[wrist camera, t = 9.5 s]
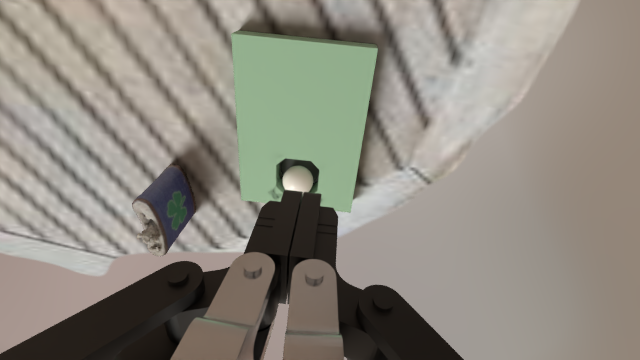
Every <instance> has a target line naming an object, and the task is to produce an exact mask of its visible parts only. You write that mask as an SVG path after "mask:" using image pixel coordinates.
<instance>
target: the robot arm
mask: <svg viewBox="0 0 640 360" xmlns="http://www.w3.org/2000/svg"><path fill="white" fill-rule="evenodd" d="M321 195H322V194H319V193H311V192H304V193H303V192H301V191H292V190H284V192H283V195H282V199H281V202H279V201H269V202H268V203H267V204H265V205H264V206H263V207H262V208H261V211H260V213H259V216H258V219H257V221H256V224H255V226H254V229H253V231H252V234H251V237H250V239H249V242H248V244H247V247H246V249H245V252H244V254H243V255H241V256H239V257H238V258H237V259H236V260H235V261H234V262H233V263H232V265H231V266H230V267H228V268H225V269H221V270H215V271H208V272H203V271H202V269H201V267H200V266H199V265H198V264H196V263H193V262H189V261H180V262H175V263H172V264H170V265H168V266H166V267H164V268H162V269H160V270H158V271H156V272H154V273H152V274H150V275H149V276H147V277H145V278H143V279H141V280H139V281H137V282H135V283H134V284H131V285H130V286H128V287H126V288H124V289H122V290H120V291H118V292H116V293H114V294H113V295H111V296H109V297H107V298H105V299H103V300H101V301H99V302H97V303H96V304H94V305H92V306H90V307H88V308H86V309H85V310H82V311H80V312H79V313H77V314H75V315H73V316H71V317H69V318H67V319H65V320H63V321H62V322H60V323H58V324H56V325H54V326H52V327H50V328H48V329H47V330H44V331H43V332H41V333H39V334H37V335H35V336H33V337H31V338H30V339H28V340H26V341H24V342H22V343H20V344H18V345H17V346H14V347H12V348H10V349H9V350H7V351H5V352H3V353H1V354H0V360H263V359H264V356H265V352H266V349H267V346H268V343H269V339H270V336H271V333H272V329H273V326H274V319H275V316H276V313H277V308H278V304H279V303H283V304H286V299H287V294H288V304H289V310H288V320H287V329H286V333H285V343H284V352H283V360H344V357H346V358H347V360H464V359H463V358H462V357H461V356H460V355H458V353H457V352H455V350H454V349H453V348H452V347H451V346H450V345H449V344H448V343H447V342H446V341H445V340H444V339H443V338H442V337H441V336H440V335H439V334H438V333H437V332H436V331H435V330H434V329H433V328H432V327H431V326H430V325H429V324H428V323H427V322H426V321H425V320H424V319H423V318H422V317H421V316H420V315H419V314H418V313H417V312H416V311H415V310H414V309H413V308H412V307H411V306H410V305H409V304H408V303H407V302H406V301H405V300H404V299H403V298H402V297H401V296H400V295H399V294H398V293H397V292H396V291H394V290H393V289H391V288H389V287H387V286H383V285H372V286H369V287H366V288H365V289H364V290H362V289H359V288H357V287H354V286H352V285H350V284H348V283H347V282H345V281H344V280H343V279H342V278H341V277H340V276H339V274H338V272H337V270H336V247H337V226H338V215H337V214H336V212H335V210H334V208H332V207H323V206H320V205H321Z"/></svg>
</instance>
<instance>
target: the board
mask: <svg viewBox="0 0 640 360" xmlns="http://www.w3.org/2000/svg"><path fill="white" fill-rule="evenodd" d="M231 35H232V51H233V68H234V85H235V101H236V118H237V134H238V151H239V168H240V184H241V200H245V201H254V202H262V203H268V202H269V201H279V202H281V199H282V195H283V192H284V190H285V188H284V186H283V180H282V179H281V178H280V177H279V176H280V162H281V161H282V162H281V172H282V175H283V176H284V173H285V172H286V171H287V170H288V169H289V168H290V167H293V166H303V167H305V168H307V169H308V170H309V171H310V172H311V174H312V176H313V181H314V180H315V179H316V178H317V176H318V173H319V179H318V182H317V183H315V184H314V185H312V188H311V189H310V191H309V192H311V193H319V194H322V195H321V205H320V206H323V207H332V208H334V210H335V211H341V212H351V206H352V200H353V194H354V188H355V182H356V176H357V171H358V165H359V159H360V153H361V147H362V141H363V135H364V129H365V123H366V117H367V111H368V105H369V99H370V93H371V87H372V81H373V75H374V69H375V63H376V57H377V51H378V47H377V45H376V44H367V43H357V42H348V41H338V40H328V39H318V38H308V37H298V36H288V35H279V34H269V33H259V32H249V31H236V32H234V33H232V34H231Z"/></svg>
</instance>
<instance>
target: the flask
mask: <svg viewBox="0 0 640 360" xmlns="http://www.w3.org/2000/svg"><path fill="white" fill-rule="evenodd" d="M132 207H133V209H134V211H135V213H136V215H137V216H138V218H139V220H140V222H141V224H142V226H143V229H144V231H142V233H143V234H141V233H138V234H137V239H138V240H139V238H143V242H144V243H146V244H147V248H148V250H149V251H150V252H151V253H152V254H153V255H156V256H163V255H165V254H166V253H167V252H168V250H169V248H170V247H171V245H172V244H173V242H174V241H175V240H176V238H177V237H178V236H179V234H180V233H181V231H182V230H183V229H184V227H185V226H186V224H187V223H188V221H189V220H190V219H191V217H192V216H193V215H194V213H195V210H196V206H195V198H194V195H193V192H192V189H191V186H190V184H189V181H188V178H187V176H186V173H185V172H184V171H183V169H182V168H181V166H178V165H176V164H175V166H174V165H173V164H172V165H170V166H168V167H167V168H166V169H165V170H164V171H163V172H162V173H161V175H160V176H159V177H158V178H157V179H156V180H155V181H154V182H153V183H152V184H151V185H150V186H149V187H148V188H147V189H146V190H145V191H144V192H143V193H142V194H141V195H140V196H138V197H137V198H136V200H135V201H134V202H133V203H132Z"/></svg>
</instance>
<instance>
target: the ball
mask: <svg viewBox="0 0 640 360" xmlns="http://www.w3.org/2000/svg"><path fill="white" fill-rule="evenodd" d="M312 185H313V176H312V174H311V172H310V171H309V170H308V169H307V168H305V167H303V166H293V167H290V168H289V169H288V170H287V171H286V172H285V173H284V176H283V186H284V188H285V190H292V191H301V192H303V193H304V192H309V191H310V189H311V188H312Z"/></svg>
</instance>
